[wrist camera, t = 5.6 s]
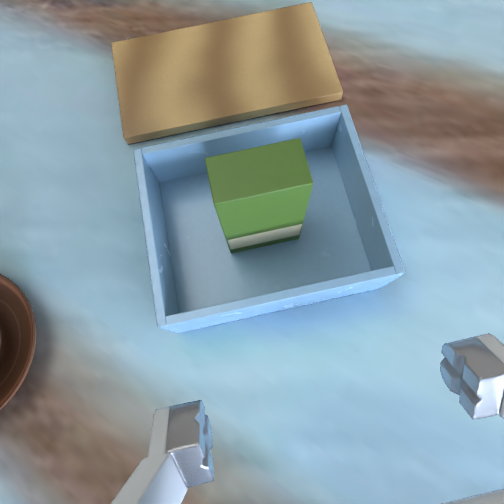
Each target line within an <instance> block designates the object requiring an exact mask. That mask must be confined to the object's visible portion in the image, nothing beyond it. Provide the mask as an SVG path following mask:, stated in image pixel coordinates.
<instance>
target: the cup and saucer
mask: <svg viewBox="0 0 504 504" xmlns="http://www.w3.org/2000/svg"><path fill="white" fill-rule="evenodd" d="M35 345H36V323H35V317H34V313H33V310H32V307H31V305H30V303H29V301H28V299H27V298H26V296H25V294H24V293H23V292H22V291H21V289H20V288H19V287H18V286H17V285H16V284H14V283H13V282H12V281H10V280H9V279H8V278H6V277H4V276H3V275H1V274H0V409H2V408H3V407H4V406H5V405H6V404H7V403H8V401H9V400H10V399H11V398H12V397H13V395H14V394H15V393H16V392H17V390H18V389H19V387H20V386H21V384H22V382H23V380H24V379H25V377H26V375H27V373H28V370H29V368H30V365H31V362H32V359H33V355H34V351H35Z"/></svg>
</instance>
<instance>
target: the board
mask: <svg viewBox="0 0 504 504" xmlns="http://www.w3.org/2000/svg"><path fill="white" fill-rule="evenodd" d="M112 51H113V59H114V67H115V74H116V82H117V90H118V98H119V106H120V113H121V121H122V129H123V137H124V139H125V141H126V142H127V144H132V143H137V142H141V141H146V140H151V139H156V138H160V137H165V136H170V135H175V134H179V133H184V132H189V131H194V130H198V129H203V128H208V127H213V126H217V125H222V124H227V123H232V122H236V121H241V120H246V119H251V118H255V117H260V116H265V115H270V114H274V113H279V112H284V111H289V110H293V109H298V108H303V107H308V106H313V105H317V104H322V103H327V102H332V101H336V100H341V98H342V94H343V90H342V87H341V84H340V82H339V79H338V76H337V73H336V70H335V67H334V64H333V62H332V59H331V56H330V53H329V50H328V47H327V44H326V42H325V39H324V36H323V33H322V30H321V27H320V24H319V22H318V19H317V16H316V13H315V10H314V7H313V4H312V2H309V3H304V4H300V5H295V6H290V7H285V8H280V9H275V10H270V11H265V12H260V13H255V14H251V15H246V16H241V17H236V18H231V19H226V20H221V21H216V22H211V23H206V24H202V25H197V26H192V27H187V28H182V29H177V30H172V31H167V32H162V33H157V34H153V35H148V36H143V37H138V38H133V39H128V40H123V41H118V42H113V43H112Z"/></svg>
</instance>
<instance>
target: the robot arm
mask: <svg viewBox="0 0 504 504" xmlns="http://www.w3.org/2000/svg"><path fill="white" fill-rule="evenodd" d="M442 354H443V355H444V356H445V358H444V359H443V360H442V361H441V363H440V371H441V375H442V378H443V380H444V382H445V384H446V385H447V387H448V388H449V389H450V391H452V392H454V393H456V394H458V395H460V397H459V403H460V404H461V405H462V407H463V408H464V409H465V410H466V412H467V413H468V414H469V416H470V417H471V418H472V419H473V420H475V419H480V418H485V417H490V416H494V415H499V414H500V417H502V418H504V345H503V344H502V343H501V342H500V341H499V340H498V339H497V338H496V337H495V336H493V335H491V334H484V335H480V336H476V337H470V338H466V339H462V340H458V341H454V342H450V343H446V344H444V345H443V346H442ZM212 447H213V438H212V430H211V425H210V421H209V418H208V416H207V415H205V407H204V404H203V402H202V400H198V401H193V402H188V403H183V404H179V405H174V406H169V407H165V408H160V409H156V410H155V412H154V414H153V421H152V428H151V435H150V442H149V450H148V457H147V458H143V459H142V461H141V462H140V463H139V465H138V466H137V468H136V469H135V470H134V472H133V473H132V475H131V476H130V477H129V479H128V480H127V482H126V483H125V484H124V486H123V487H122V489H121V490H120V491H119V493H118V494H117V496H116V497H115V498H114V500H113V501H112V503H111V504H181V502H182V500H183V498H184V496H185V493H186V491H187V488H188V487H192V486H195V485H199V484H203V483H207V482H210V481H214V472H213V458H212V455H211V452H210V450H211V448H212ZM442 504H504V489H500V490H496V491H492V492H488V493H484V494H480V495H475V496H471V497H467V498H463V499H459V500H454V501H450V502H446V503H442Z"/></svg>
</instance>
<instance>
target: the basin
mask: <svg viewBox="0 0 504 504" xmlns="http://www.w3.org/2000/svg"><path fill="white" fill-rule="evenodd" d="M296 138H300V139H301V142H302V145H303V149H304V152H305V155H306V159H307V162H308V166H309V169H310V172H311V176H312V179H313V187H312V191H311V195H310V199H309V202H308V206H307V210H306V214H305V218H304V222H303V226H302V229H301V233H300V237H299V239H296V240H291V241H286V242H282V243H277V244H273V245H268V246H263V247H259V248H254V249H250V250H245V251H241V252H236V253H230V250H229V247H228V244H227V241H226V238H225V236H224V233H223V230H222V227H221V224H220V221H219V218H218V215H217V213H216V210H215V207H214V204H213V199H212V194H211V189H210V184H209V179H208V174H207V169H206V164H205V158H207V157H212V156H216V155H221V154H226V153H230V152H235V151H240V150H245V149H249V148H254V147H259V146H263V145H268V144H273V143H278V142H282V141H287V140H292V139H296ZM133 151H134V158H135V165H136V173H137V180H138V188H139V195H140V202H141V210H142V217H143V224H144V232H145V239H146V247H147V254H148V261H149V269H150V276H151V283H152V291H153V298H154V306H155V313H156V320H157V327H158V328H162V329H165V330H168V331H172V332H175V333H181V332H186V331H190V330H195V329H199V328H204V327H208V326H213V325H217V324H222V323H226V322H231V321H235V320H240V319H244V318H249V317H253V316H258V315H262V314H267V313H271V312H276V311H280V310H285V309H289V308H294V307H299V306H303V305H308V304H312V303H317V302H321V301H326V300H330V299H335V298H339V297H344V296H348V295H353V294H357V293H362V292H366V291H371V290H375V289H380V288H382V287H383V286H385V285H386V284H388V283H390V282H391V281H393V280H394V279H396V278H397V277H399V276H401V275H402V274H404V273H405V270H404V267H403V264H402V261H401V259H400V256H399V253H398V250H397V247H396V244H395V241H394V239H393V236H392V233H391V230H390V227H389V224H388V221H387V219H386V216H385V213H384V210H383V207H382V204H381V201H380V198H379V196H378V193H377V190H376V187H375V184H374V181H373V178H372V176H371V173H370V170H369V167H368V164H367V161H366V158H365V155H364V153H363V150H362V147H361V144H360V141H359V138H358V135H357V133H356V130H355V127H354V124H353V121H352V118H351V115H350V113H349V110H348V107H347V105H342V106H337V107H332V108H328V109H323V110H318V111H313V112H309V113H304V114H299V115H294V116H290V117H285V118H280V119H275V120H271V121H266V122H261V123H256V124H252V125H247V126H242V127H237V128H233V129H228V130H223V131H218V132H214V133H209V134H204V135H199V136H195V137H190V138H185V139H180V140H176V141H171V142H166V143H161V144H157V145H152V146H147V147H142V148H138V149H134V150H133Z"/></svg>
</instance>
